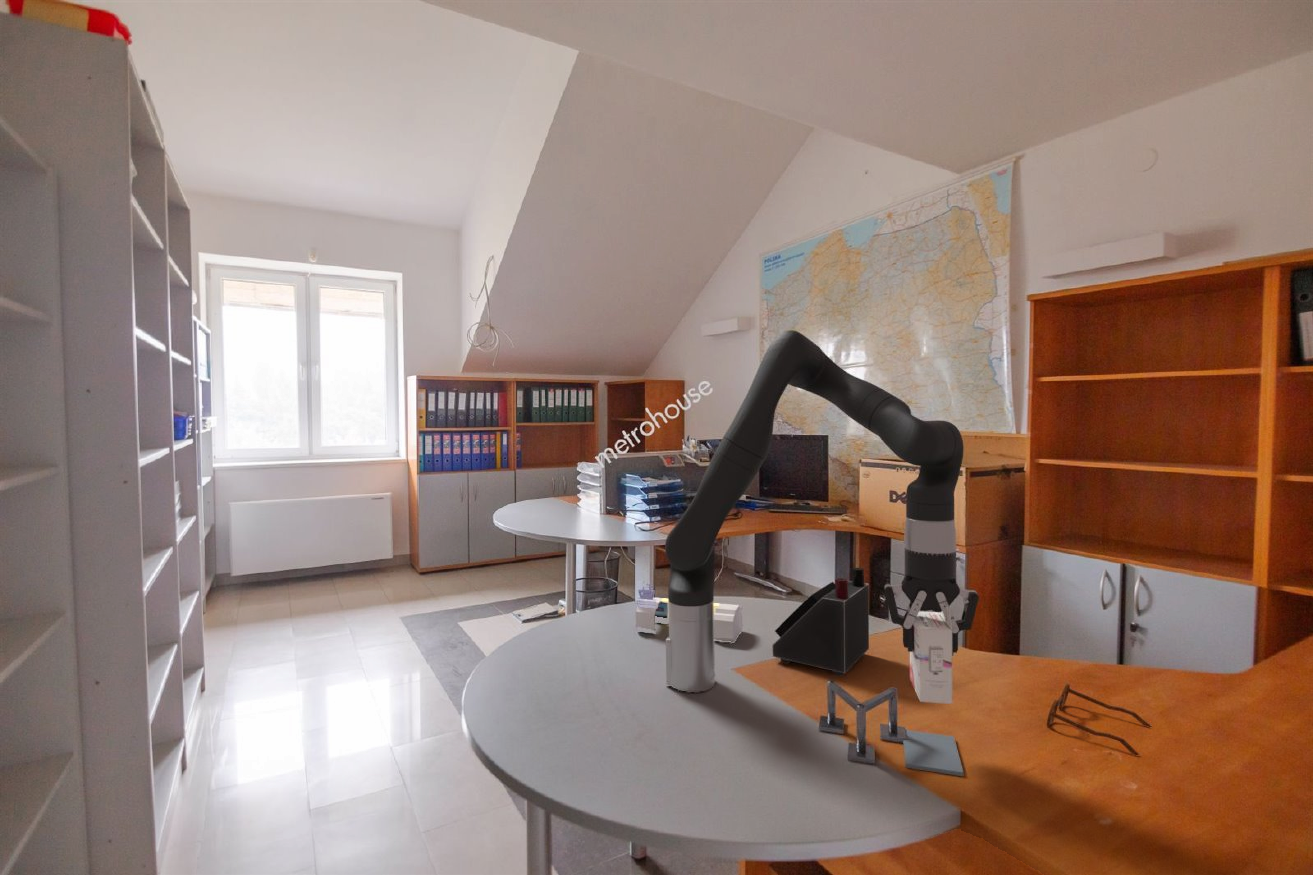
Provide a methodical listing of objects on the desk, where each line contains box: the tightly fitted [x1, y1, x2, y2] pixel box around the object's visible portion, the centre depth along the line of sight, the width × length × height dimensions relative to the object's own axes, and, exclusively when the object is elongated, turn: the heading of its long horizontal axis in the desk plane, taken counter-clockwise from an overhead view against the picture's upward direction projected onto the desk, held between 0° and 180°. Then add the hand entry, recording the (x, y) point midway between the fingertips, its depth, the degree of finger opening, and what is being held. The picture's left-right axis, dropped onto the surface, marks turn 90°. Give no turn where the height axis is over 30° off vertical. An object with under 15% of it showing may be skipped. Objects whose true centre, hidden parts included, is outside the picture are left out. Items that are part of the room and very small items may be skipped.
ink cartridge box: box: [909, 605, 953, 705], centre depth 99 cm, size 9×5×15 cm, turn 168°
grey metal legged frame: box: [818, 679, 907, 765], centre depth 102 cm, size 14×12×8 cm
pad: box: [902, 729, 964, 777], centre depth 99 cm, size 8×11×1 cm
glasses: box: [1046, 683, 1153, 756], centre depth 106 cm, size 13×13×5 cm
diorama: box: [635, 583, 743, 642], centre depth 156 cm, size 25×10×13 cm, turn 70°
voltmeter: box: [772, 567, 870, 677], centre depth 138 cm, size 16×16×20 cm
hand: (930, 651), depth 99 cm, fingers closed on ink cartridge box, 5 cm apart
